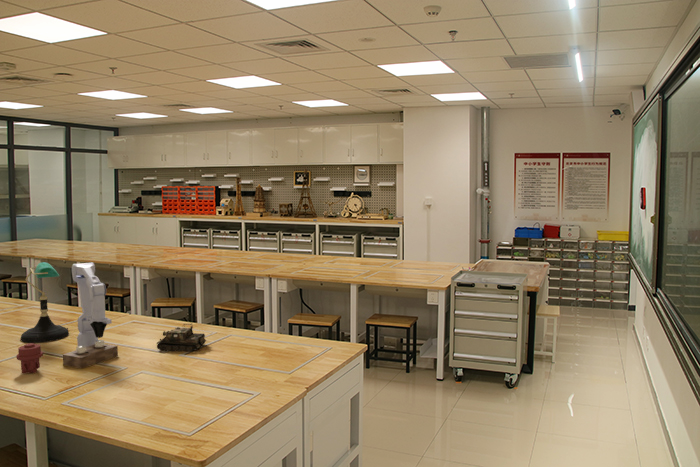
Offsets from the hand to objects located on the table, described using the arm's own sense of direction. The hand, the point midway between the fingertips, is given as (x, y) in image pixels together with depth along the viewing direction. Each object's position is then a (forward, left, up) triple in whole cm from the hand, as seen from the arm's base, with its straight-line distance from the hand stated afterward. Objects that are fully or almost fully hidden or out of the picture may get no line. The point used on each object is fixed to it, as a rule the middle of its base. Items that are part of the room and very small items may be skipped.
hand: (99, 337), depth 249 cm
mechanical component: (-11, -27, -10) cm, 31 cm away
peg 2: (0, 0, -7) cm, 7 cm away
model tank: (+25, +29, -10) cm, 40 cm away
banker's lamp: (-57, +13, -10) cm, 59 cm away
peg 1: (0, -10, -7) cm, 12 cm away
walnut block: (0, -5, -10) cm, 11 cm away
